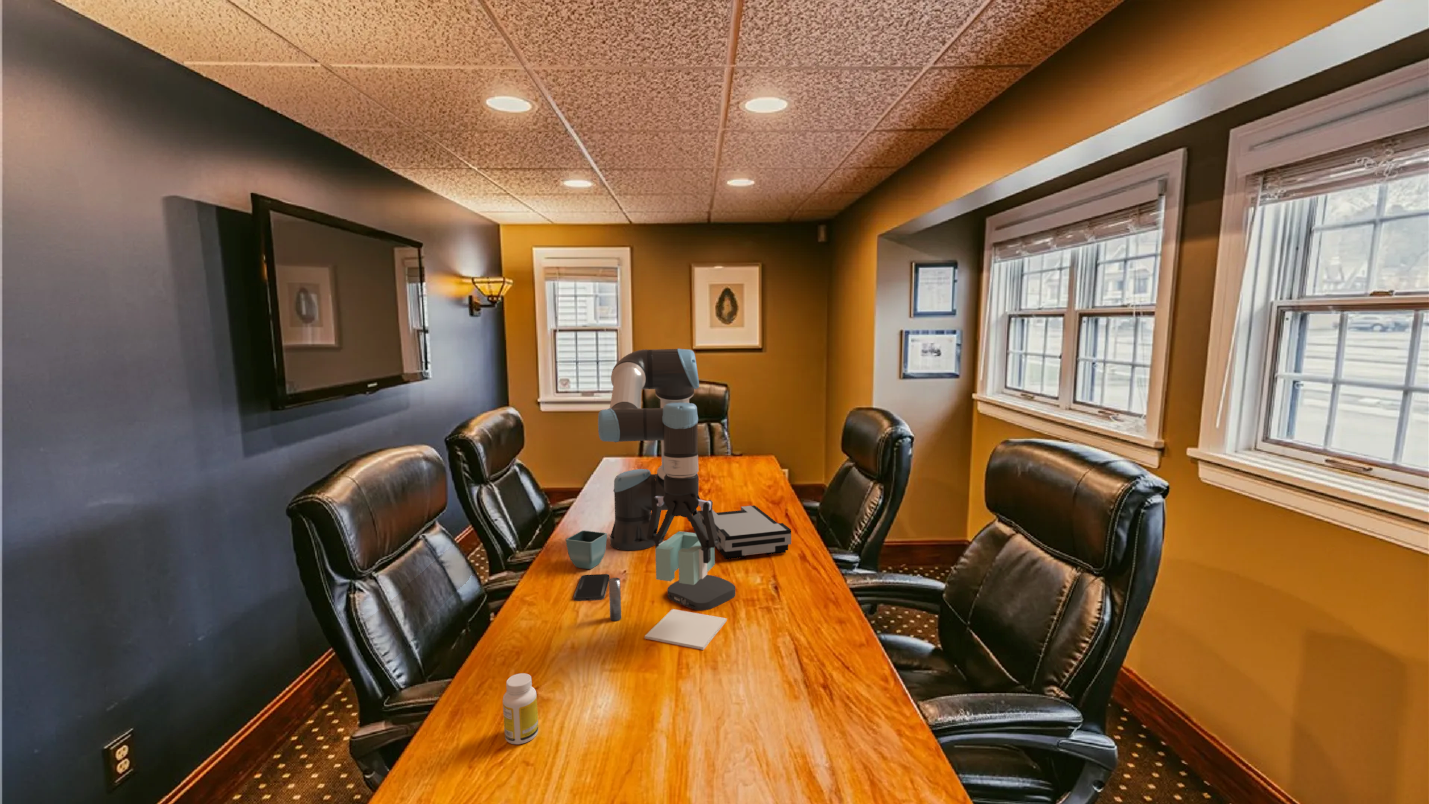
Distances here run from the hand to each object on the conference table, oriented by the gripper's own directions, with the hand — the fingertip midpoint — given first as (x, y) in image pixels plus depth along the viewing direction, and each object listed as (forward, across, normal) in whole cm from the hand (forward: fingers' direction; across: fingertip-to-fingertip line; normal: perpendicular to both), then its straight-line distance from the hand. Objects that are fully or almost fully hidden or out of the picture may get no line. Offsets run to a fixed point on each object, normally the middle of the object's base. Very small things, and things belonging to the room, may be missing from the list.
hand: (683, 573), depth 134 cm
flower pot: (+14, -43, +27) cm, 53 cm away
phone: (+14, -33, +14) cm, 39 cm away
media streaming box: (+14, -4, +20) cm, 25 cm away
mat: (+14, 0, +2) cm, 14 cm away
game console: (+14, -8, +62) cm, 64 cm away
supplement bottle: (+14, -11, -41) cm, 45 cm away
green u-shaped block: (0, 0, +2) cm, 2 cm away
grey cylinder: (+14, -18, +1) cm, 23 cm away
